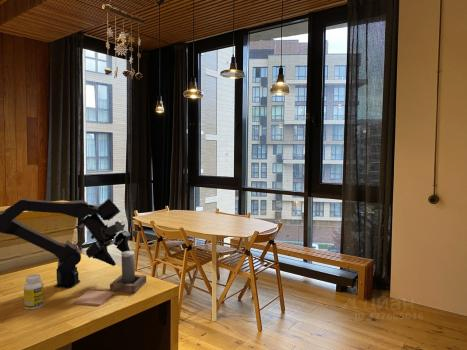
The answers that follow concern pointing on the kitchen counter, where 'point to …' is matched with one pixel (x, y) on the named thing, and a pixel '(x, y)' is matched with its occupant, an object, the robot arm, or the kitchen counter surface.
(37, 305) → the supplement bottle
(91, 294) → the terracotta tile
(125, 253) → the grey cylinder
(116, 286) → the walnut collar
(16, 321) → the kitchen counter surface
